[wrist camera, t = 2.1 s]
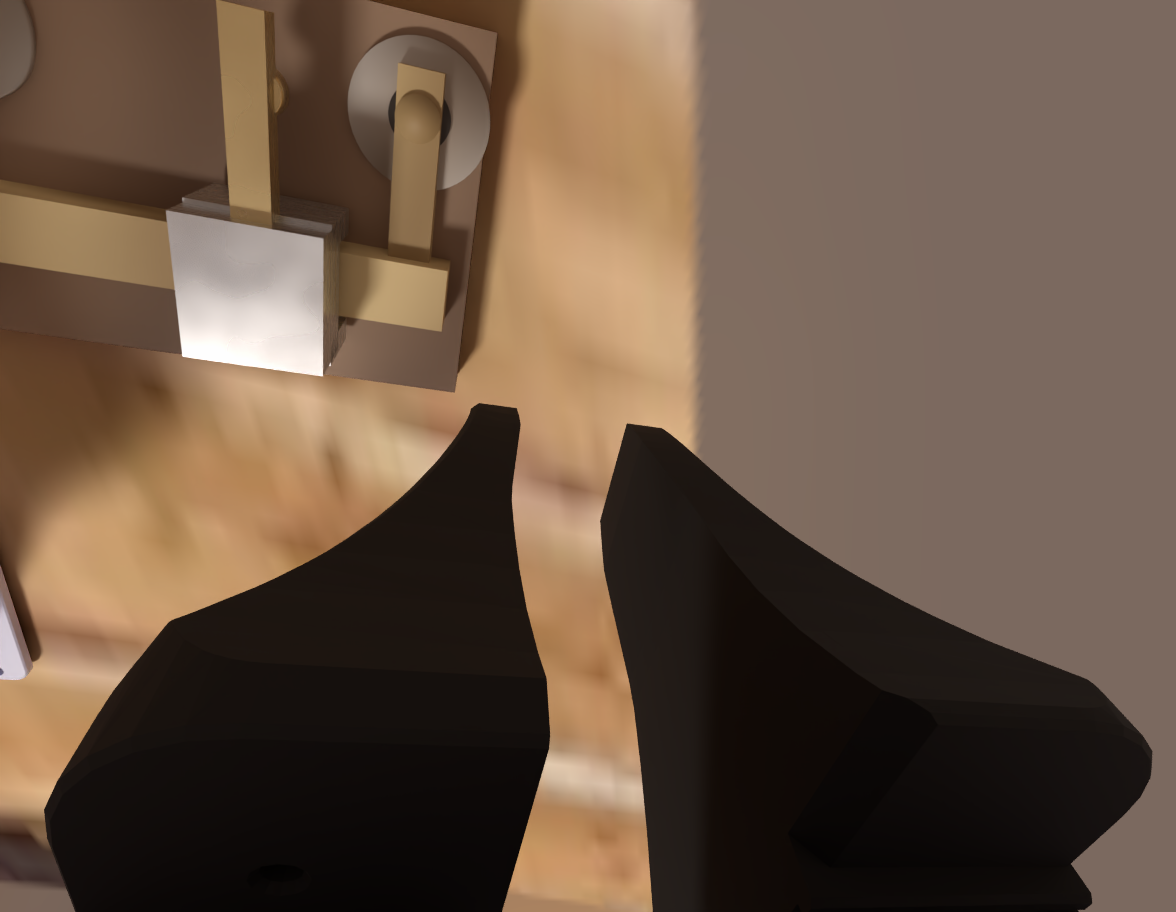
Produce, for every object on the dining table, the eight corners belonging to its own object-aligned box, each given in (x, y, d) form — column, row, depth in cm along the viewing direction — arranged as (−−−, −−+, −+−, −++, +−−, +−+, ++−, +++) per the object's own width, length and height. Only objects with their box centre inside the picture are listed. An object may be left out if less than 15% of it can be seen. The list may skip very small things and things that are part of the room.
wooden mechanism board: (-79, 297, 17) (-149, 327, 15) (-220, -147, 13) (-345, -181, 11) (460, 375, 20) (455, 409, 18) (501, 35, 15) (501, 32, 14)
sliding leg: (225, 320, 17) (182, 360, 15) (200, -8, 13) (139, -19, 11) (345, 338, 17) (323, 380, 15) (353, 29, 14) (324, 26, 12)
